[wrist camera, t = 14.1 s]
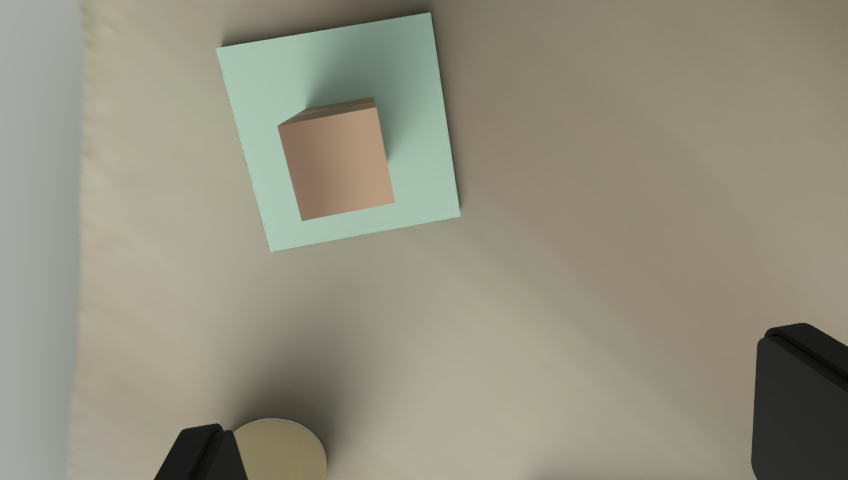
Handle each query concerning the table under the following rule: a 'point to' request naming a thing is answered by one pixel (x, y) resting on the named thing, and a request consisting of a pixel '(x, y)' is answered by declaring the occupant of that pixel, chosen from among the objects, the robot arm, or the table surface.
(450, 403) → the table surface
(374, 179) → the walnut peg
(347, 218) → the green pad
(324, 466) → the coffee cup
